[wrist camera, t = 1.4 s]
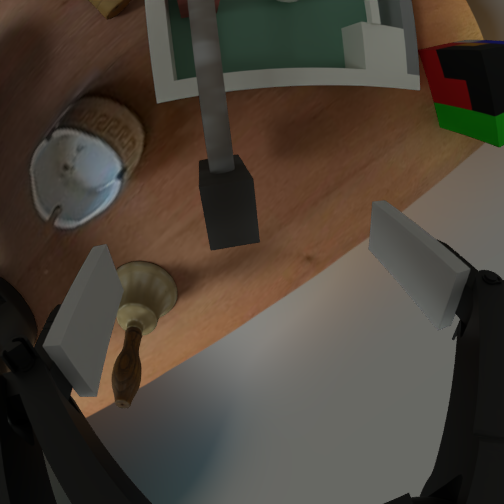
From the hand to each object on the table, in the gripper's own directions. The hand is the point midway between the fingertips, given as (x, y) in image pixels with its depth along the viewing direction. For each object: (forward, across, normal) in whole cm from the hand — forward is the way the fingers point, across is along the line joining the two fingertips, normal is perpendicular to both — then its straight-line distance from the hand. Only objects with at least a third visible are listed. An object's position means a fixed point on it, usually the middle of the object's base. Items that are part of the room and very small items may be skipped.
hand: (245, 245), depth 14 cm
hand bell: (+17, -12, -13) cm, 24 cm away
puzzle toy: (+17, +30, +9) cm, 35 cm away
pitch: (+17, +7, +17) cm, 25 cm away
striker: (+15, 0, +13) cm, 20 cm away
